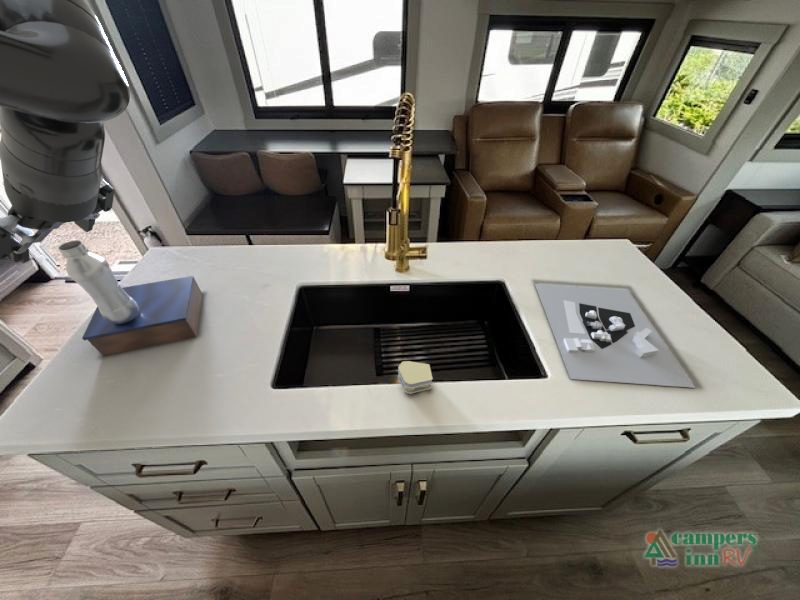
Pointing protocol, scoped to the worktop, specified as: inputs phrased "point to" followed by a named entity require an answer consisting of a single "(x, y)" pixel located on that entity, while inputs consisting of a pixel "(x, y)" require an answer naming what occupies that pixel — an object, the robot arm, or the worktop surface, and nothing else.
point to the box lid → (148, 307)
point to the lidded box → (154, 331)
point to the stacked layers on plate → (414, 376)
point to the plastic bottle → (99, 283)
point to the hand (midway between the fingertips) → (52, 241)
